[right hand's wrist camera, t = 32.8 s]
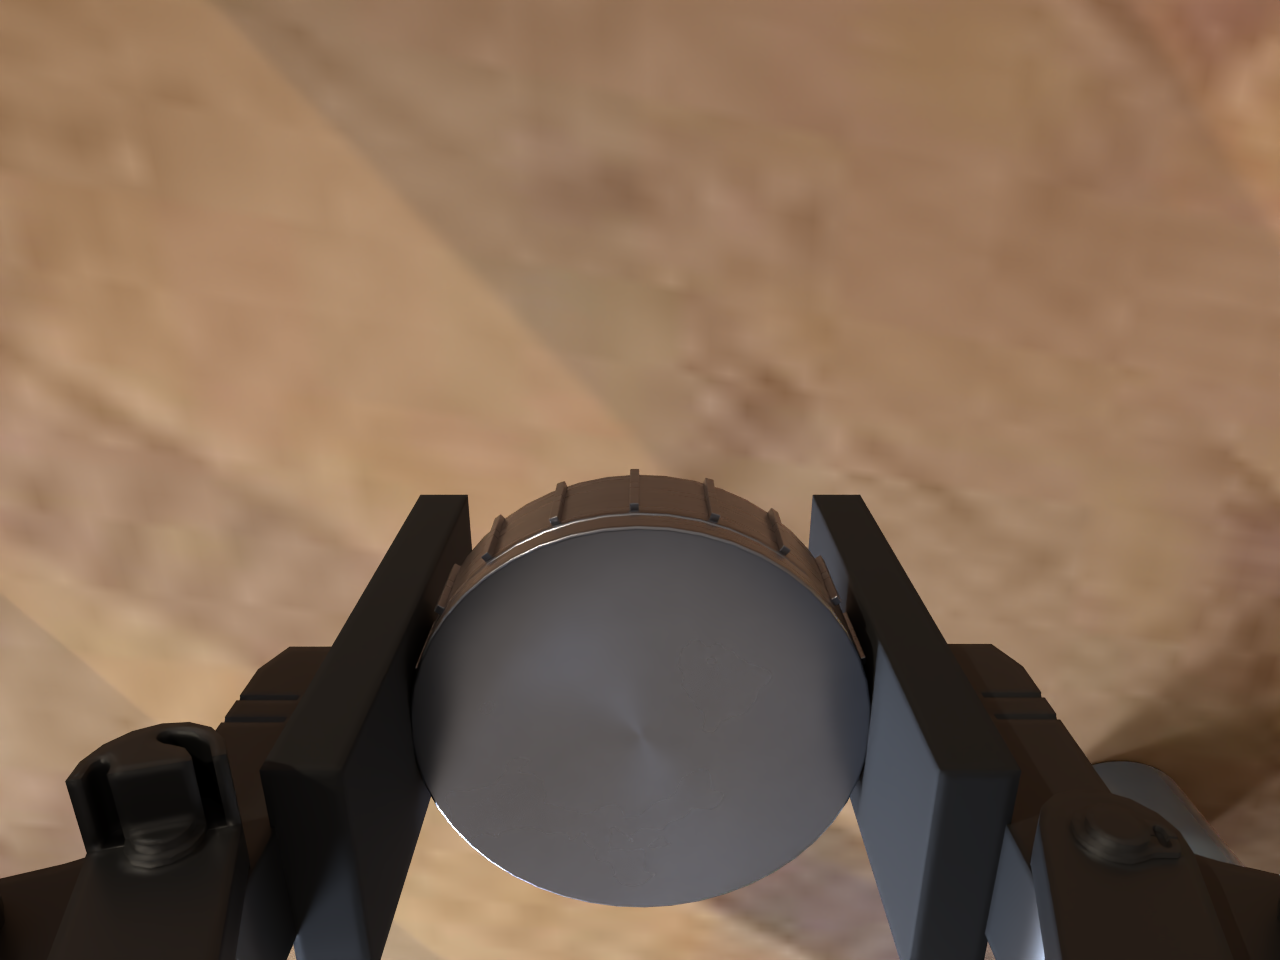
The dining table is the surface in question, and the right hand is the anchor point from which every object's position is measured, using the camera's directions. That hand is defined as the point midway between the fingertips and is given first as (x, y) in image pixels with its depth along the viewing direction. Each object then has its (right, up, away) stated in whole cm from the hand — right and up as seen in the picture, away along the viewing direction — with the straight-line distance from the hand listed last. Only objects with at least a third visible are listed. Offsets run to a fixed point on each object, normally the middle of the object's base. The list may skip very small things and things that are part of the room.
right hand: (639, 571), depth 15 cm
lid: (0, -1, -4) cm, 4 cm away
